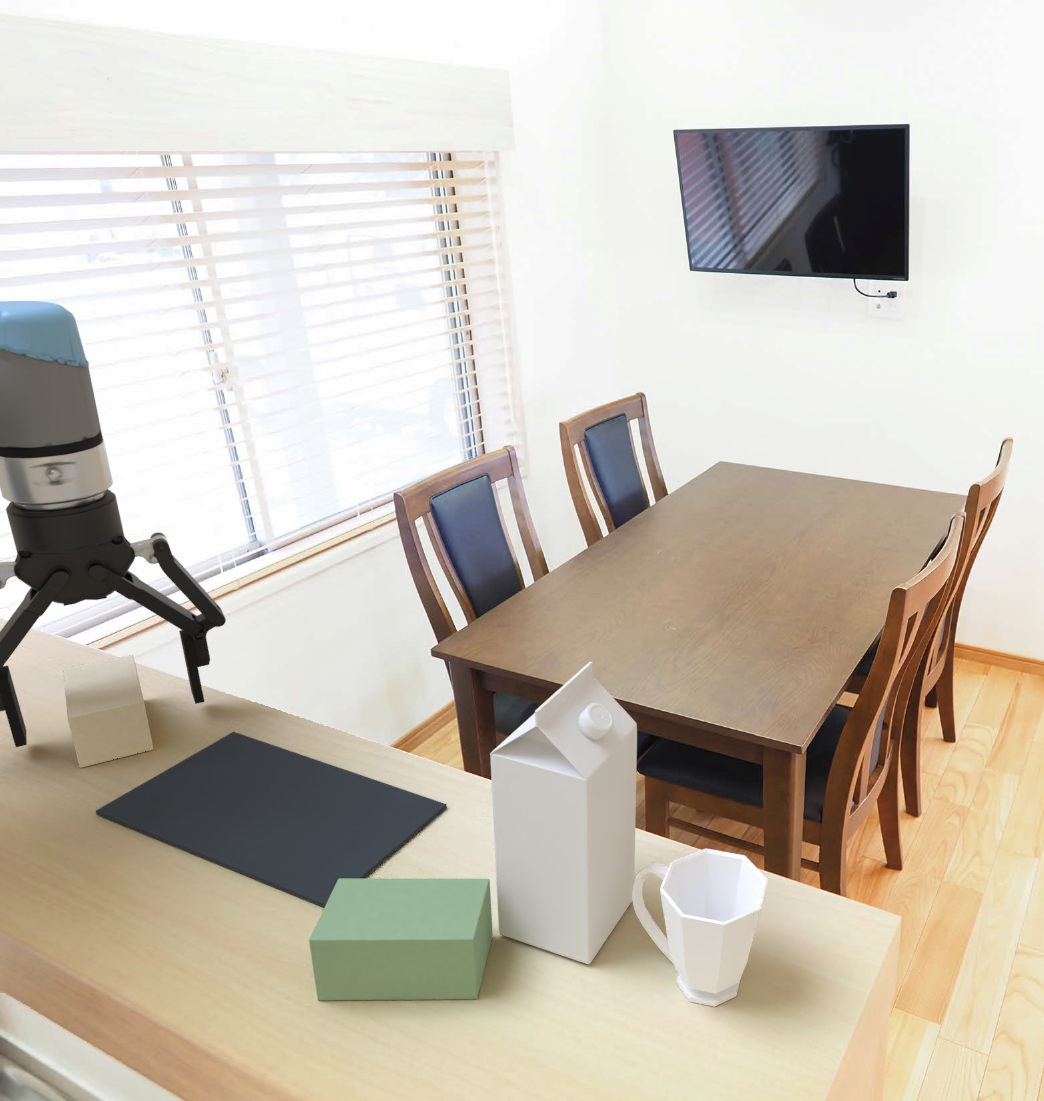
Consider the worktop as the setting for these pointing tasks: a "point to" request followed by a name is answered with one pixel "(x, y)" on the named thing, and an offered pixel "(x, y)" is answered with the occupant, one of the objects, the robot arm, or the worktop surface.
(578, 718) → the milk carton
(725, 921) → the cup
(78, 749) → the cream block
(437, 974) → the green block
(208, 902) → the worktop surface
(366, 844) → the mat
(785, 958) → the worktop surface
